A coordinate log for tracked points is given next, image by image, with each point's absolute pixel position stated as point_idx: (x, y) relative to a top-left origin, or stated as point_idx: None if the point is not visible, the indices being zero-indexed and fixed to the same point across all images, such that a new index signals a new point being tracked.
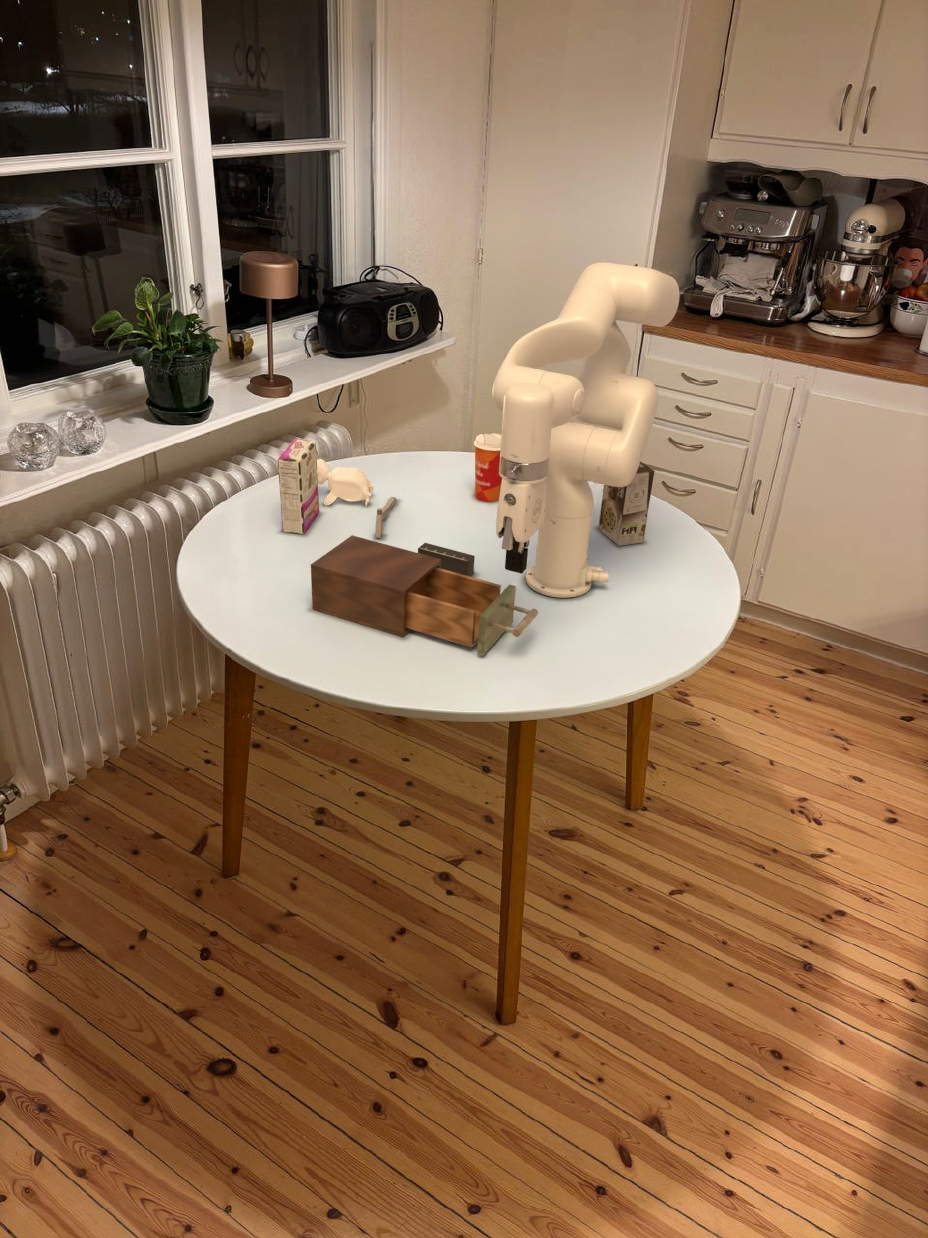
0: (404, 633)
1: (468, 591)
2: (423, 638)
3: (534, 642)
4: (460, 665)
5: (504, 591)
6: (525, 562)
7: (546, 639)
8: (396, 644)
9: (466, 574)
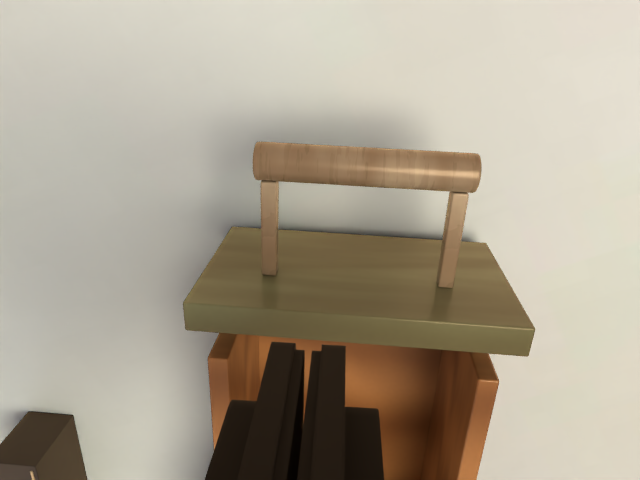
0: None
1: None
2: None
3: (293, 114)
4: (538, 284)
5: (261, 330)
6: (286, 389)
7: (251, 80)
8: (490, 457)
9: (63, 431)
